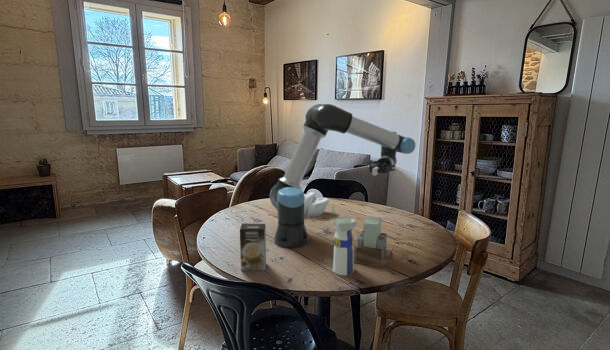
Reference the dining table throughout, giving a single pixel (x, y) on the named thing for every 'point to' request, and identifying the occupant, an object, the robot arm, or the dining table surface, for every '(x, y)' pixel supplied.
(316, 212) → the wavy white extrusion
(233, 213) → the dining table surface
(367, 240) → the sage block
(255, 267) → the food box
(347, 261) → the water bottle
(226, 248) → the dining table surface
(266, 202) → the dining table surface
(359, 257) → the band guide
